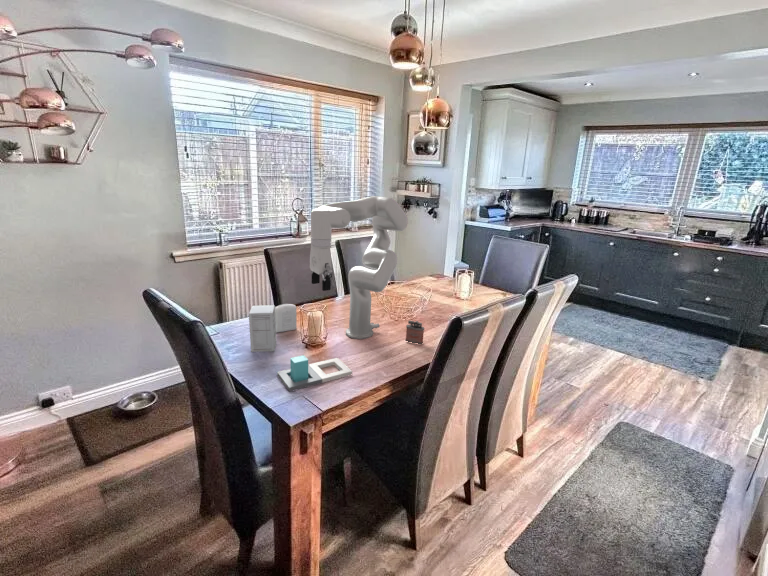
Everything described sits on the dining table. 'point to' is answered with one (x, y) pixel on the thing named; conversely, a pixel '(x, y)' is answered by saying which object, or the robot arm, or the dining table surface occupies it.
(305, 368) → the plug
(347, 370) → the panel
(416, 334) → the lighter
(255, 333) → the supplement box
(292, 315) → the grey toy tombstone
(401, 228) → the robot arm
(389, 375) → the dining table surface
